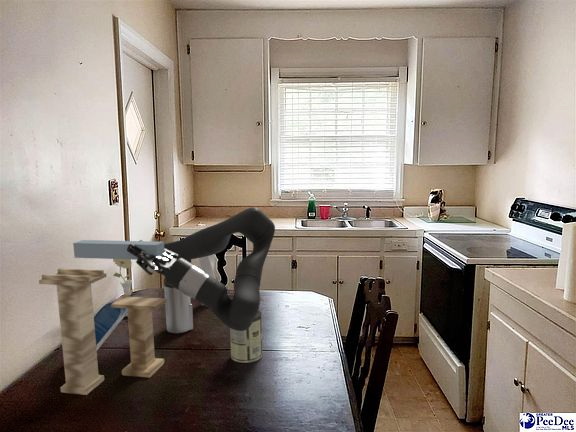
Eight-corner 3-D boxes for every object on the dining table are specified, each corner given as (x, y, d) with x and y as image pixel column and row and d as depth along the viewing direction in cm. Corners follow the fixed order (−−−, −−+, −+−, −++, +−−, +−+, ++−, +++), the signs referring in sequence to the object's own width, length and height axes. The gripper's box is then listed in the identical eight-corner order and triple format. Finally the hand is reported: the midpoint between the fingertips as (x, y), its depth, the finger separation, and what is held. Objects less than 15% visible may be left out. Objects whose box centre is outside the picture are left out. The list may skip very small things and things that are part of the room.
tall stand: (114, 380, 126) (105, 269, 122) (95, 396, 118) (84, 278, 113) (72, 376, 129) (62, 267, 125) (50, 392, 121) (38, 276, 116)
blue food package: (64, 353, 132) (116, 288, 133) (80, 341, 144) (128, 282, 145) (80, 365, 132) (133, 300, 134) (95, 353, 144) (143, 293, 146)
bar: (164, 256, 115) (163, 241, 114) (157, 260, 111) (156, 244, 110) (84, 254, 120) (83, 240, 119) (74, 257, 116) (73, 243, 115)
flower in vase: (148, 311, 182) (145, 253, 178) (125, 320, 172) (121, 259, 169) (128, 306, 189) (124, 250, 185) (105, 314, 179) (100, 255, 176)
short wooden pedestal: (171, 363, 136) (167, 297, 133) (157, 378, 127) (153, 307, 124) (131, 360, 139) (126, 295, 136) (114, 374, 130) (109, 305, 127)
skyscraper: (217, 306, 187) (214, 242, 183) (198, 306, 187) (195, 242, 183) (220, 300, 195) (218, 238, 191) (202, 300, 195) (199, 239, 191)
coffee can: (238, 346, 147) (237, 306, 145) (267, 350, 144) (266, 310, 142) (224, 360, 137) (223, 318, 135) (254, 365, 134) (253, 321, 132)
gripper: (205, 259, 118) (152, 228, 120) (182, 274, 104) (123, 238, 106) (193, 282, 120) (142, 250, 122) (169, 299, 106) (111, 263, 108)
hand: (133, 245), depth 114 cm, fingers closed on bar, 4 cm apart
